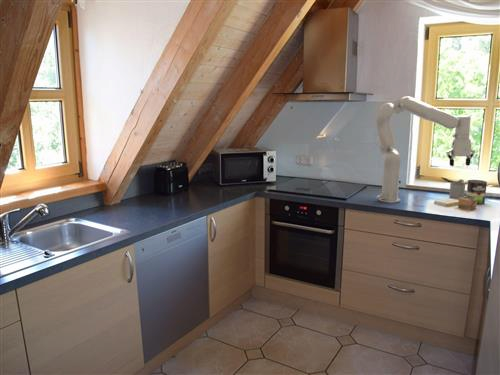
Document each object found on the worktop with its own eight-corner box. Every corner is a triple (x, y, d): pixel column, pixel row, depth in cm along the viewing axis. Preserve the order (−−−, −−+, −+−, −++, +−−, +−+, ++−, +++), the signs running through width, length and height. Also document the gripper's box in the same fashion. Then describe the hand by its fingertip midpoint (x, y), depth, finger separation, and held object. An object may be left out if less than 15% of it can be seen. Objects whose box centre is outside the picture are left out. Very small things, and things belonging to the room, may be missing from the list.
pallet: (467, 213, 237) (467, 211, 237) (453, 210, 245) (453, 208, 244) (480, 211, 242) (480, 209, 242) (465, 207, 250) (466, 205, 249)
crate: (469, 210, 239) (470, 200, 237) (457, 207, 245) (458, 197, 243) (476, 209, 241) (477, 198, 240) (464, 206, 247) (465, 196, 246)
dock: (446, 208, 247) (447, 203, 247) (433, 205, 255) (434, 200, 254) (461, 206, 253) (462, 201, 252) (448, 202, 261) (449, 198, 260)
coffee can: (487, 206, 251) (489, 183, 248) (468, 206, 253) (470, 182, 250) (481, 202, 261) (483, 179, 258) (462, 202, 263) (465, 179, 260)
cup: (462, 198, 272) (464, 182, 270) (464, 201, 265) (466, 185, 263) (448, 197, 275) (449, 182, 273) (449, 200, 268) (451, 184, 265)
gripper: (450, 137, 247) (448, 167, 251) (479, 136, 248) (477, 166, 252) (444, 136, 255) (442, 165, 258) (472, 135, 256) (470, 164, 259)
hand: (459, 165), depth 255 cm, fingers open, 9 cm apart
